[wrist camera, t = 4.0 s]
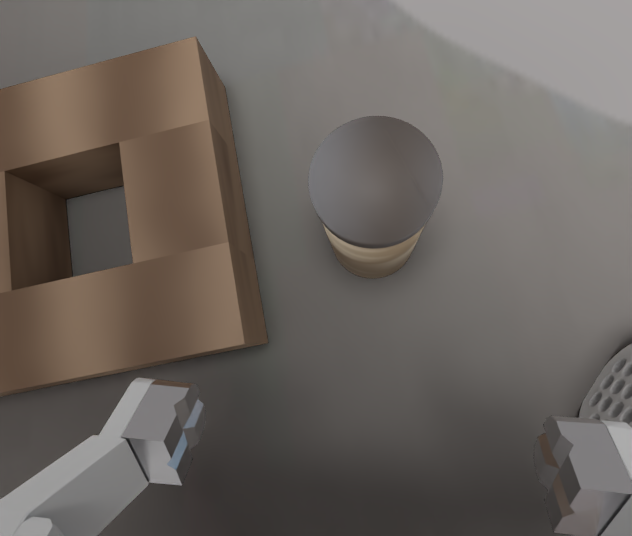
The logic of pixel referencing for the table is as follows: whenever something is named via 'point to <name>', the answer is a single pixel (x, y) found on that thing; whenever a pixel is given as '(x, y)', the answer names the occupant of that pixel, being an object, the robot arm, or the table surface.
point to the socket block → (143, 219)
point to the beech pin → (375, 192)
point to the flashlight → (611, 391)
